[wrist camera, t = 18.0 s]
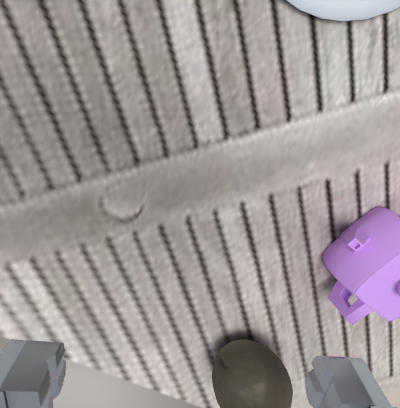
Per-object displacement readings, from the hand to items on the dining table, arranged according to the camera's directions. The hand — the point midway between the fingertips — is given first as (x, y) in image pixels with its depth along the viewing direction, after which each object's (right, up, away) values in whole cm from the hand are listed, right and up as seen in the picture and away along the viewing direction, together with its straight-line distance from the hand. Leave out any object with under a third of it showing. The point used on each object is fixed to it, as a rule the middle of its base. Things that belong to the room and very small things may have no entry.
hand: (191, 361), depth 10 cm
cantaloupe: (+9, -24, +54) cm, 60 cm away
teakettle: (+30, -2, +45) cm, 54 cm away
